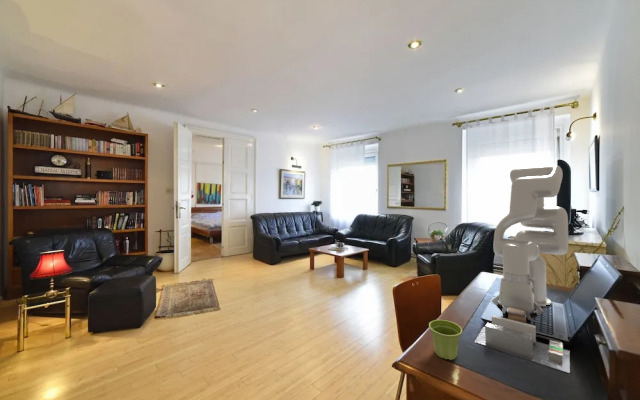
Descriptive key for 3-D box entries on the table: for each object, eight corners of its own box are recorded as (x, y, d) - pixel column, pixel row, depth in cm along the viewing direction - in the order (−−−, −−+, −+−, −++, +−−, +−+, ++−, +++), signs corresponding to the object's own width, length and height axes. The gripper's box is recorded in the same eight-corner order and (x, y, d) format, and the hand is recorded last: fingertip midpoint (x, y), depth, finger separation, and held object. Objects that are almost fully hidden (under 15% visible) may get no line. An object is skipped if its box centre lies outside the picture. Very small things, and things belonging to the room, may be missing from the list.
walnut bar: (508, 318, 102) (507, 306, 102) (524, 321, 99) (524, 308, 99) (508, 332, 92) (508, 318, 92) (526, 336, 89) (526, 322, 89)
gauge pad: (492, 328, 94) (492, 315, 94) (560, 347, 81) (560, 332, 81) (492, 330, 93) (491, 316, 93) (560, 350, 80) (560, 334, 80)
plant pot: (470, 361, 77) (469, 332, 77) (441, 366, 76) (440, 337, 76) (449, 343, 87) (448, 318, 86) (423, 347, 85) (422, 321, 85)
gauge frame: (483, 327, 96) (483, 310, 96) (569, 351, 80) (569, 331, 80) (474, 342, 87) (474, 324, 87) (569, 373, 71) (569, 351, 71)
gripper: (547, 279, 92) (548, 329, 92) (490, 270, 103) (491, 315, 104) (546, 285, 86) (547, 338, 87) (486, 275, 98) (487, 322, 99)
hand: (516, 325), depth 95 cm, fingers closed on walnut bar, 5 cm apart
